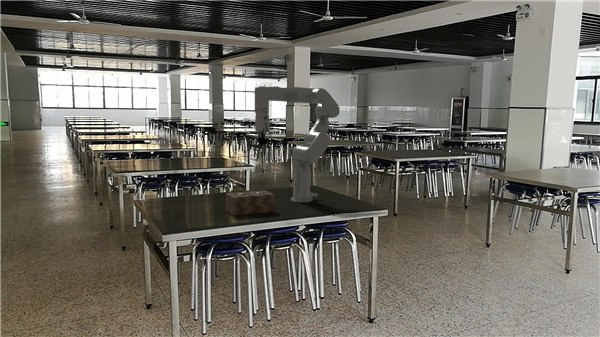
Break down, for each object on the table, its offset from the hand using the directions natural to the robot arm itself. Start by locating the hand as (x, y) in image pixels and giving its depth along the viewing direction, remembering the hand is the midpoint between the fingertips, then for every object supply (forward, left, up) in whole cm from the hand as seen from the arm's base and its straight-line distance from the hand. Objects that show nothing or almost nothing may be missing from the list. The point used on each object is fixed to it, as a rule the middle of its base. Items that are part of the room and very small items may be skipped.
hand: (261, 144), depth 243 cm
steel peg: (+5, +9, -32) cm, 33 cm away
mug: (+9, -10, -33) cm, 36 cm away
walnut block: (+10, +9, -33) cm, 36 cm away
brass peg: (+15, +9, -32) cm, 36 cm away
